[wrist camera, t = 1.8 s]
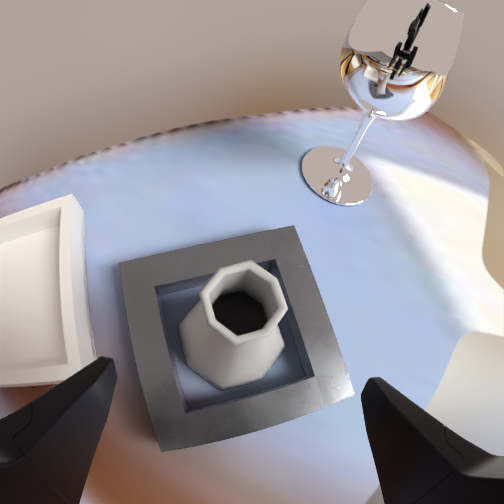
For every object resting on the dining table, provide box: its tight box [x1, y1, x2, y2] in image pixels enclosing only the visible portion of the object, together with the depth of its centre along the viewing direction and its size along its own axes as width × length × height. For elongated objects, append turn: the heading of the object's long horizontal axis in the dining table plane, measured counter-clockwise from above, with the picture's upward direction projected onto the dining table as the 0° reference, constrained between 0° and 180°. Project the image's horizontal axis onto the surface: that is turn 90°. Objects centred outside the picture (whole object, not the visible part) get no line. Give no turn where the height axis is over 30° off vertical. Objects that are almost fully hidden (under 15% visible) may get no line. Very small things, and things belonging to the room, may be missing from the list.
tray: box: [0, 194, 97, 387], centre depth 17 cm, size 14×14×3 cm
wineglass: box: [302, 0, 464, 206], centre depth 18 cm, size 8×8×20 cm
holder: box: [119, 225, 354, 452], centre depth 19 cm, size 13×13×2 cm
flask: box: [177, 260, 288, 391], centre depth 15 cm, size 7×7×10 cm
